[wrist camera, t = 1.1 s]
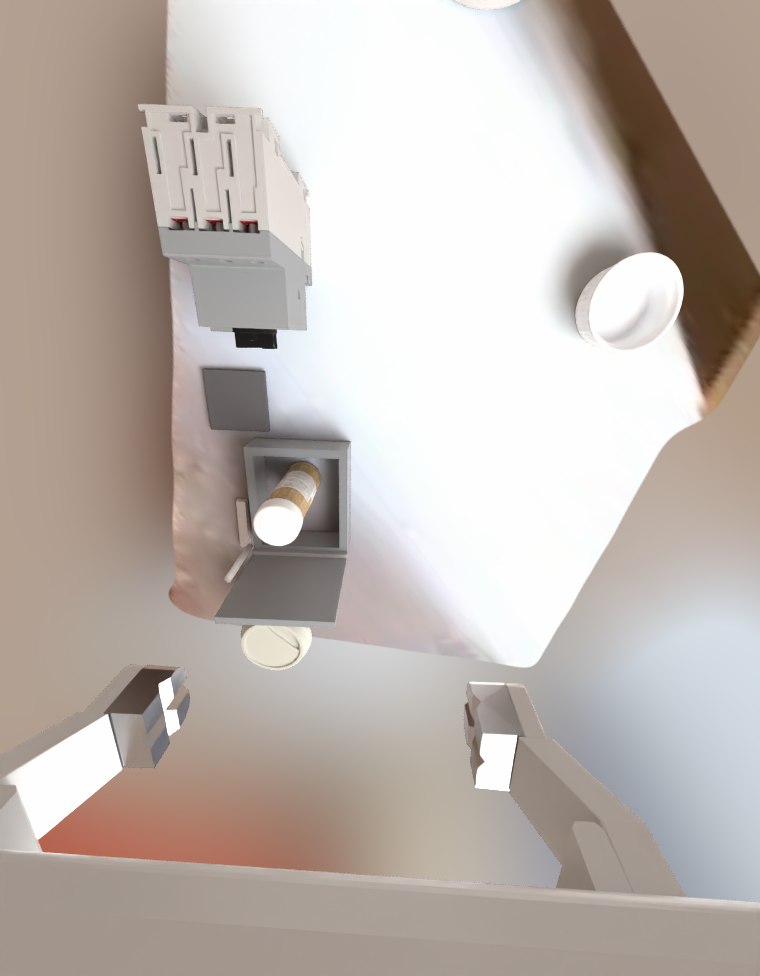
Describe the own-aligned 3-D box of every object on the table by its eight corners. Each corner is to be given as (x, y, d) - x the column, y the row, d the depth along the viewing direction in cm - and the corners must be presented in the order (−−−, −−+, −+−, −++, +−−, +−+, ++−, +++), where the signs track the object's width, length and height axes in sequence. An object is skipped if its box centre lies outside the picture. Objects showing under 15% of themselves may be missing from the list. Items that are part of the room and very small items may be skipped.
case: (246, 437, 46) (179, 486, 31) (350, 441, 46) (333, 493, 31) (257, 540, 51) (205, 623, 37) (350, 544, 51) (335, 628, 37)
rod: (239, 497, 49) (235, 501, 48) (248, 498, 49) (245, 501, 48) (243, 542, 52) (240, 546, 51) (251, 542, 52) (248, 547, 51)
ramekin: (657, 251, 37) (689, 241, 33) (651, 342, 41) (679, 343, 37) (568, 271, 38) (589, 264, 34) (569, 359, 42) (588, 362, 38)
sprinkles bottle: (303, 499, 49) (275, 555, 36) (279, 474, 48) (241, 523, 35) (329, 479, 48) (308, 530, 35) (305, 453, 46) (275, 496, 34)
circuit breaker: (247, 344, 42) (178, 349, 28) (232, 188, 36) (136, 98, 22) (314, 346, 42) (277, 353, 28) (308, 191, 36) (260, 102, 22)
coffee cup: (330, 602, 55) (316, 668, 44) (277, 610, 56) (249, 677, 45) (316, 554, 52) (296, 614, 41) (259, 564, 53) (225, 624, 42)
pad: (205, 368, 43) (202, 369, 42) (265, 371, 43) (263, 371, 42) (213, 428, 45) (211, 429, 45) (269, 430, 45) (268, 431, 45)
